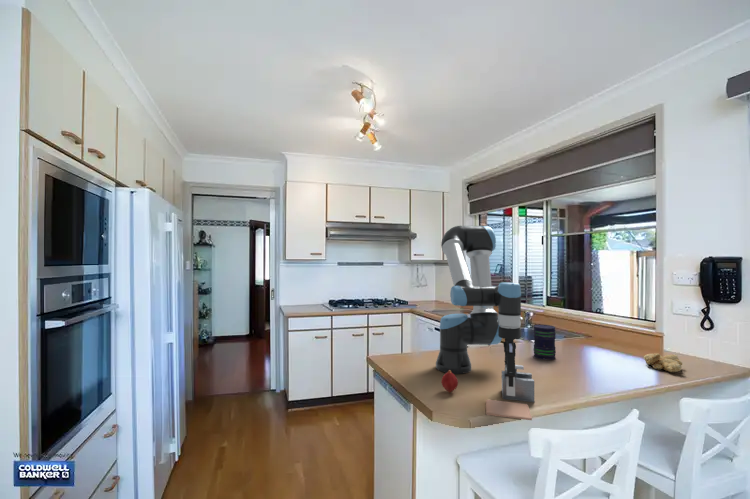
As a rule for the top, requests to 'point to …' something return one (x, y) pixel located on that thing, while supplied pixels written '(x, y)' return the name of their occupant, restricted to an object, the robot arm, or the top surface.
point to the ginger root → (664, 362)
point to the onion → (449, 381)
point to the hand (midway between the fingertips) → (509, 390)
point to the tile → (508, 409)
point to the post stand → (516, 368)
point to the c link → (520, 387)
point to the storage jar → (544, 342)
